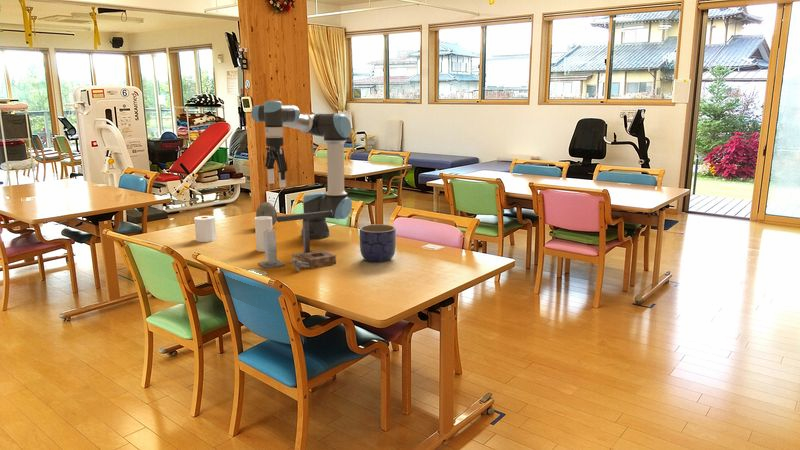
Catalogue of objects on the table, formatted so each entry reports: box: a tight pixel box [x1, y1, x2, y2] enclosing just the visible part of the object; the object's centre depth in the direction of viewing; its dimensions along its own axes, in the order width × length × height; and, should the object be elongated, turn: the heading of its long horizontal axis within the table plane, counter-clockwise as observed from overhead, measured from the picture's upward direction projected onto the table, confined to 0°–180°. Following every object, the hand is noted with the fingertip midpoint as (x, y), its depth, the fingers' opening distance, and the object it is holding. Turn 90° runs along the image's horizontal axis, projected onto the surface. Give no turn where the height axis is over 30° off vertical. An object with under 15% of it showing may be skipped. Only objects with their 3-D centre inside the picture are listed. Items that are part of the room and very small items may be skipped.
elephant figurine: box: [290, 253, 310, 274], centre depth 244 cm, size 10×6×9 cm
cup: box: [254, 216, 274, 253], centre depth 276 cm, size 8×8×16 cm
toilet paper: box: [193, 215, 217, 243], centre depth 296 cm, size 10×10×12 cm
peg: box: [263, 229, 278, 265], centre depth 250 cm, size 4×4×15 cm
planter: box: [358, 223, 397, 263], centre depth 258 cm, size 16×16×15 cm
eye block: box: [299, 249, 337, 269], centre depth 255 cm, size 12×12×4 cm
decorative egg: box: [255, 201, 278, 227], centre depth 323 cm, size 12×12×15 cm
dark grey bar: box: [276, 210, 333, 223], centre depth 261 cm, size 3×28×4 cm, turn 121°
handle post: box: [295, 220, 313, 259], centre depth 263 cm, size 8×8×17 cm
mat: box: [257, 259, 286, 270], centre depth 252 cm, size 9×9×1 cm
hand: (276, 185), depth 251 cm, fingers open, 13 cm apart
